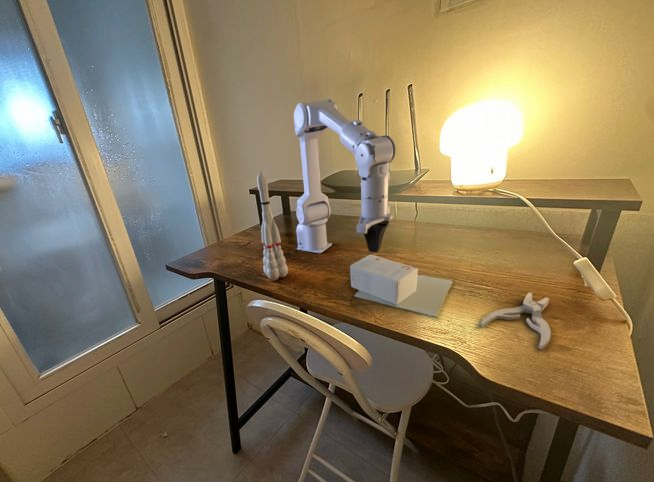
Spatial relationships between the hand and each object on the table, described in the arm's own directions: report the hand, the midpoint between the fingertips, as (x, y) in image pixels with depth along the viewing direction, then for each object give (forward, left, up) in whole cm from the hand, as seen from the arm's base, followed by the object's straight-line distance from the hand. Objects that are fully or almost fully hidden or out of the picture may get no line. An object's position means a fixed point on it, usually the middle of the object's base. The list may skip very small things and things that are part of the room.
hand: (374, 250), depth 73 cm
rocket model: (-26, -8, -9) cm, 28 cm away
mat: (+7, 0, -9) cm, 12 cm away
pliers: (+30, -1, -9) cm, 32 cm away
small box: (-3, -1, -6) cm, 7 cm away
